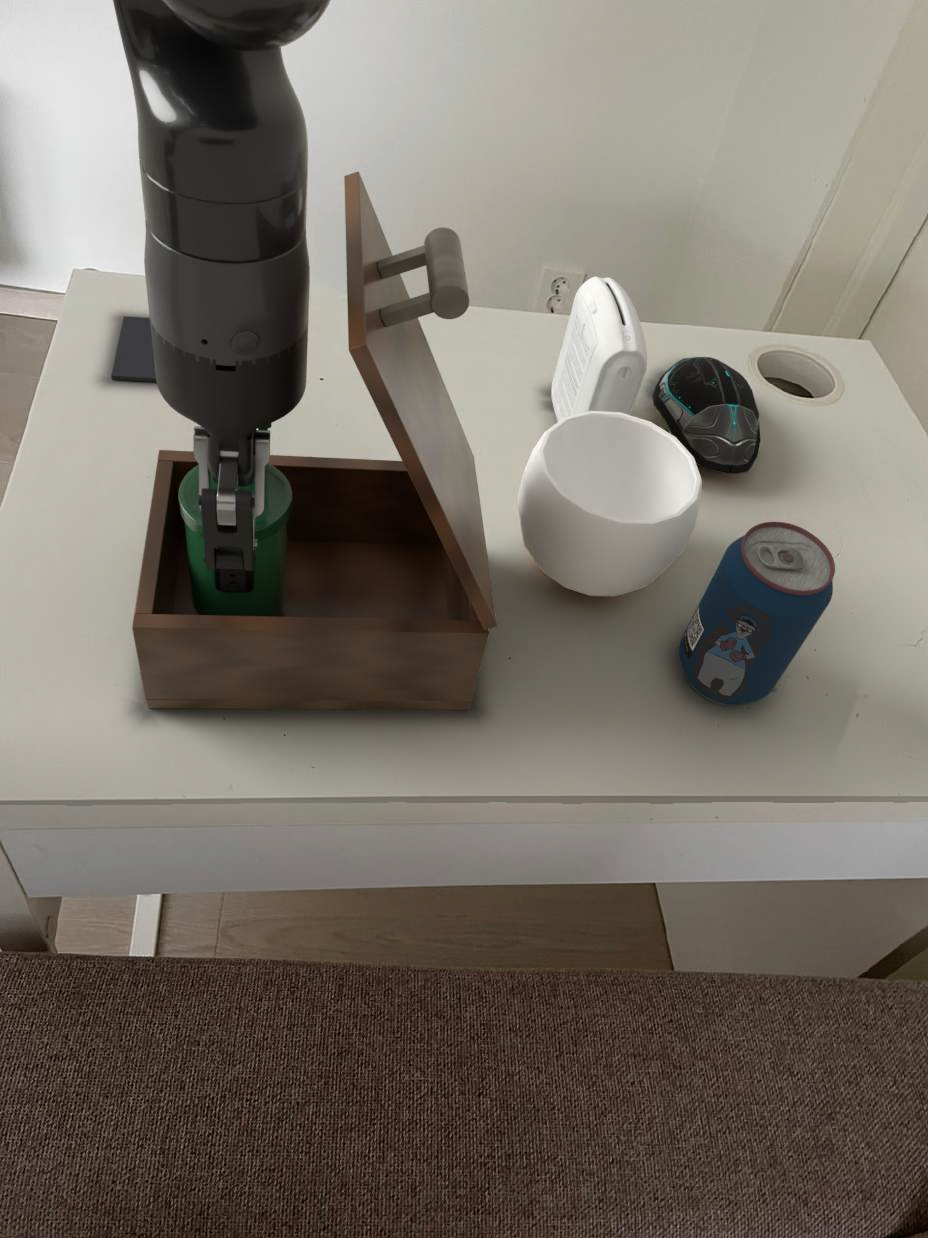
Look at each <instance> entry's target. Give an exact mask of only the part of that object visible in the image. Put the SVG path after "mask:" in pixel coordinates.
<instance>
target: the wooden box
mask: <svg viewBox="0 0 928 1238" xmlns="http://www.w3.org/2000/svg"><path fill="white" fill-rule="evenodd" d="M268 464H270V465H272V466H274V467H275V468H277V469H278V470H279V471H280V472H281V473H282V474H283V475H284V476H285V477H286V479H287V480H288V482H289V484H290V486H291V490H292V511H291V515H290V518H289V519H288V553H287V595H286V601H285V604H284V606H283V608H282V610H281V611H280V613H279V614H278V615H277V616H276V617H273V616H223V615H199V613H198V612H197V611H196V609H195V608H194V606H193V603H192V599H191V589H190V578H189V567H188V556H187V544H186V533H185V522H184V519H183V518H182V515H181V512H180V507H179V488H180V485H181V482H182V480H183V479H184V477H185V476H186V475H187V474H188V472H189V471H191V470H192V469H193V468H194V467H196V466H197V465H199V464H198V462H197V461H196V459H195V458H194V450H193V451H192V450H174V449H173V450H172V449H159V450H158V454H157V462H156V467H155V474H154V480H153V481H154V482H153V487H152V494H151V500H150V508H149V513H148V514H149V515H148V520H147V527H146V534H145V540H144V547H143V553H142V559H141V567H140V572H139V573H140V574H139V580H138V587H137V593H136V600H135V607H134V611H133V612H134V614H133V619H132V625H131V628H132V634H133V641H134V645H135V649H136V650H135V651H136V655H137V656H136V657H137V662H138V666H139V672H140V677H141V682H142V688H143V693H144V699H145V705H146V707H147V709H250V710H251V709H254V710H255V709H257V710H259V709H262V710H263V709H265V710H266V709H269V710H270V709H271V710H273V709H274V710H275V709H276V710H284V709H285V710H439V711H441V710H442V711H443V710H444V711H445V710H448V711H449V710H454V711H455V710H457V711H459V710H462V711H463V710H465V711H469V710H470V709H471V706H472V702H473V700H474V694H475V691H476V687H477V684H478V679H479V676H480V671H481V669H482V668H481V667H482V664H483V660H484V656H485V653H486V652H485V651H486V648H487V646H488V645H487V644H488V641H489V637H490V629H488V630H484V629H483V627H482V625H481V622H480V620H479V618H478V616H477V614H476V612H475V610H474V608H473V606H472V604H471V602H470V600H469V598H468V596H467V594H466V591H465V589H464V587H463V585H462V583H461V581H460V579H459V577H458V575H457V573H456V571H455V569H454V567H453V565H452V563H451V560H450V558H449V556H448V554H447V552H446V550H445V548H444V546H443V544H442V542H441V540H440V538H439V536H438V534H437V532H436V529H435V527H434V525H433V523H432V521H431V519H430V517H429V515H428V513H427V511H426V509H425V507H424V505H423V503H422V501H421V499H420V496H419V494H418V492H417V490H416V488H415V486H414V484H413V482H412V480H411V478H410V476H409V474H408V472H407V470H406V468H405V465H404V463H403V461H402V460H391V459H390V460H388V459H370V458H369V459H368V458H367V459H366V458H346V457H345V458H344V457H343V458H342V457H323V456H303V455H302V456H300V455H282V454H281V455H280V454H279V455H278V454H270V459H269V462H268Z"/></svg>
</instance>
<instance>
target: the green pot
mask: <svg viewBox="0 0 928 1238" xmlns="http://www.w3.org/2000/svg"><path fill="white" fill-rule="evenodd" d="M210 483H211V489H218V484H217V483H216V482H215V481H214V480H213V478H212V475H211V472H210ZM238 490H252V494H253V493H254V492H255V468H254V478H253V481H252V484H250V485H248V486H246V487H238ZM198 497H199V465H197V466H196V467H194V468H193V469H192V470H191V471H189V472H188V474H187V475H186V476H185V477H184V479H183V480H182V482H181V485H180V488H179V507H180V512H181V515H182V518H183V519H184V522H185V533H186V544H187V556H188V567H189V578H190V589H191V599H192V603H193V606H194V608H195V609H196V611H197V612H198V613H199V615H223V616H273V617H276V616H277V615H278V614H279V613H280V611H281V610H282V608H283V606H284V604H285V601H286V595H287V553H288V519H289V518H290V515H291V511H292V490H291V486H290V484H289V482H288V480H287V479H286V477H285V476H284V475H283V474H282V473H281V472H280V471H279V470H278V469H277V468H275V467H274V466H272V465H270V464H268V463H267V465H266V466H265V504H264V511H263V513H262V514H261V515H259V516H257V517H256V518H255V539H258V545H257V548H255V554H254V555H256V565H255V564H254V589H253V590H252V591H251V592H249V593H232V592H220V591H218V590H217V589H216V588H215V579H214V570H209V569H207V568H206V563H204V553H205V547H204V536H203V525H202V514H201V510H200V507H199V504H198Z"/></svg>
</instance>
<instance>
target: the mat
mask: <svg viewBox="0 0 928 1238" xmlns="http://www.w3.org/2000/svg"><path fill="white" fill-rule="evenodd" d="M111 380H112V381H113V380H114V381H127V382H128V381H132V382H148V383H157V381H156V373H155V363H154V353H153V344H152V334H151V325H150V317H140V316H125V315H124V316H123V317H122V322H121V327H120V332H119V336H118V343H117V346H116V352H115V356H114V361H113V366H112V371H111Z"/></svg>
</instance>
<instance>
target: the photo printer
mask: <svg viewBox="0 0 928 1238" xmlns="http://www.w3.org/2000/svg"><path fill="white" fill-rule="evenodd" d="M565 329H566V330H565V333H564V337H563V341H562V345H561V348H560V352H559V356H558V359H557V363H556V367H555V371H554V374H553V378H552V383H551V391H550V394H551V395H550V396H551V402H552V406H553V410H554V414H555V419H556V421H557V422H559V421H560V420H561V419H563V418H564V417H568V416H572V415H576V414H580V413H584V412H588V411H603V412H621V413H624V414H627V415H631V416H632V413H633V409H634V406H635V404H636V401H637V398H638V395H639V393H640V389H641V387H642V383H643V381H644V377H645V375H646V373H647V367H648V351H647V344H646V338H645V334H644V331H643V327H642V325H641V321H640V318H639V315H638V312H637V310H636V308H635V305H634V304H633V301H632V299H631V297H630V296H629V294H628V293H627V292H626V290H625V289H624V288H623V287H622V286H621V284H619V283H618V282H617V281H616V280H614V279H613V278H611V277H610V276H608V277H599V276H595V275H594V276H593V277H591V278H589V279H587V280H585V282H583V283H582V284H581V285H580V287H579V288H578V290H577V291H576V293H575V296H574V299H573V303H572V306H571V310H570V314H569V318H568V322H567V326H566V328H565ZM557 422H556V423H557Z"/></svg>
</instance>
